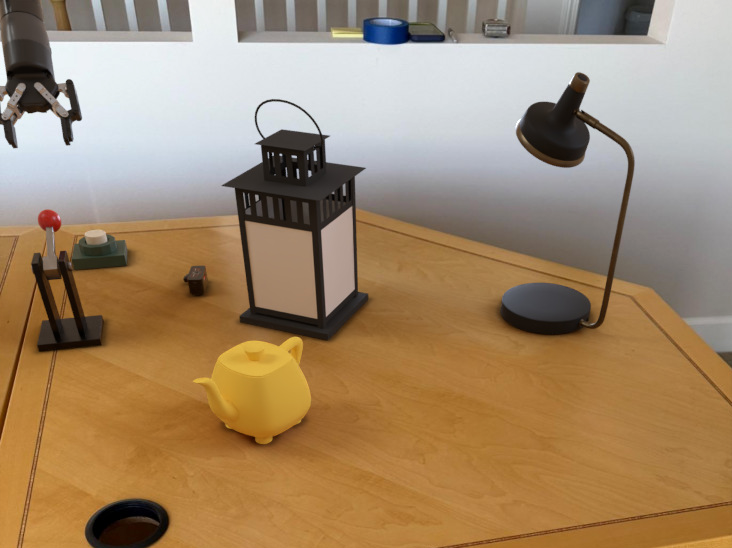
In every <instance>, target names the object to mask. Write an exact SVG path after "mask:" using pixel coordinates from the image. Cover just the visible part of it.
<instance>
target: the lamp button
mask: <svg viewBox="0 0 732 548" xmlns="http://www.w3.org/2000/svg"><path fill="white" fill-rule="evenodd" d="M106 234H107V233H106V231H105V230H103V229H91V230H87V231H85V232H84V237H85V239H86V243H87V244H89V245H100V244H103V243H106V242H107V236H106Z"/></svg>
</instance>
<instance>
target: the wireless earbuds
mask: <svg viewBox="0 0 732 548" xmlns="http://www.w3.org/2000/svg"><path fill="white" fill-rule="evenodd" d="M207 273H208V271H207V266H206V265H203V264H202V265H191V266H190V268H189V272H188V273H186V274H185V275H184V276H183V277H182V280H183V282H184V283H186V284H187V285H188V290H189V291H188V292H189V294H190V295H191V296H203V295H204V294H205V293H206V289H207V285H208V283H209V280H208V279H209V278H208V274H207Z"/></svg>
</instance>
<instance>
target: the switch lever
mask: <svg viewBox="0 0 732 548" xmlns="http://www.w3.org/2000/svg"><path fill="white" fill-rule="evenodd" d="M37 223H38V227H40V228H41V229H42V231H44V232H45V240H46V256H42V260H43V271H44V273H45V275H46V278H47V280H49V281H56V280H63V278H62V275H61V271H60V268H59V264H58V259H59V256H58V255H57V254H56V253H57V252H56V235H55V233H56V232H58V231H59V230H60V229H61V227H62V219H61V217H60V215H59V214H58V212H57V211H55V210H53V209H49V208H48V209H47V208H46V209H43V210H41V211H40V212H39V213H38V215H37Z"/></svg>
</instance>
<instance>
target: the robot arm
mask: <svg viewBox="0 0 732 548" xmlns="http://www.w3.org/2000/svg"><path fill="white" fill-rule="evenodd" d="M0 40H1V48H2V54H3V62H4V67H5V75H6V84H5V85H0V103H2V102H3V101H4V99H5V96H6V95H7V96H8V97H9V99H8V101H7V103H6V107H5V109H4V111H3V112H2V107H1V104H0V126H3V133H4V139H5V140H6V142H7V143H8V145H10V146H11V147H12V148H13V149H18V148H19V146H18V138H17V132H16V127H15V125H16V123H17V122H18V121H19V120H21V118H22V117H23V116H24V114H25V113H27V114H35V113H41V114H46V113H47V112H48V111H50V112H52V113H53V114H54V115H55V116H56V117H57V118H59V120H60V126H61V127H60V128H61V132H62V133H61V134H62V138H63V143H64V144H65V146H72V145H71V143H73V142H74V131H73V126H72V125H73V123H74V122H81V121H82V120H83V114H82V111H81V106H80V100H79V96H78V91H77V89H76V86H75V83H74V81H73V80H72V79H70V78H67V79H66V80H65V82H62V83H57V82H56V78H55V71H54V64H53V58H52V48H51V44H50V39H49V35H48V32H47V27H46V21H45V15H44V8H43V4H42V0H0ZM60 93H62V94H63V96H64V97H65V98H67V99H68V101H69V104H70V109H68V110H67V109H66V108H64V106H62V105H61V103H60V102H59V101H58V98H59V96H60Z"/></svg>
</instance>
